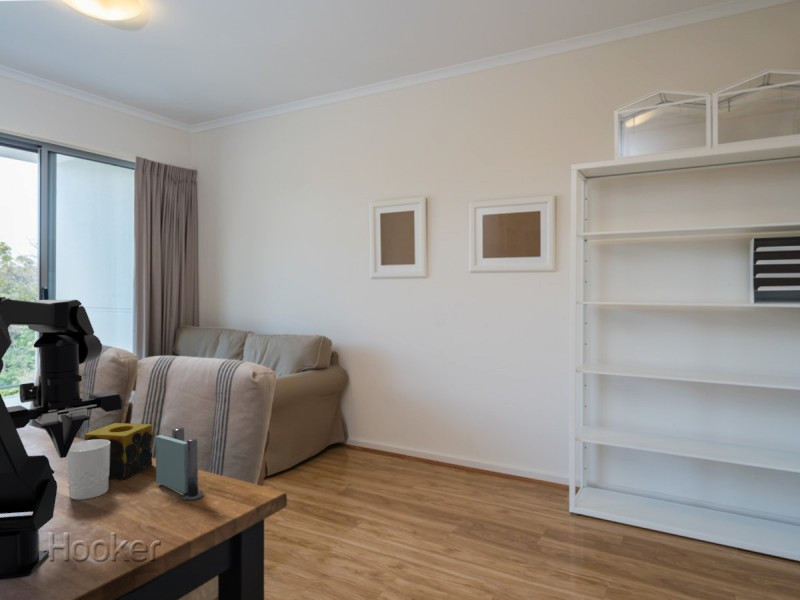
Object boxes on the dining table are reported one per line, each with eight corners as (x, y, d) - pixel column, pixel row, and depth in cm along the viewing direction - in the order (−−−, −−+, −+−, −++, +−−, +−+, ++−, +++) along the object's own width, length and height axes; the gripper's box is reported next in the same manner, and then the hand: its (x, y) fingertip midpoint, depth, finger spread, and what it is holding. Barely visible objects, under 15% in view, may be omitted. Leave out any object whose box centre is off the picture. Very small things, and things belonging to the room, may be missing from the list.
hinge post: (201, 499, 99) (200, 442, 99) (180, 501, 98) (179, 443, 98) (205, 491, 103) (204, 436, 103) (184, 493, 102) (183, 437, 102)
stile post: (185, 483, 108) (184, 430, 107) (169, 484, 107) (168, 431, 107) (188, 478, 111) (187, 426, 110) (172, 479, 110) (172, 427, 110)
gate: (190, 491, 102) (189, 442, 102) (184, 493, 101) (184, 444, 101) (161, 480, 108) (160, 434, 108) (156, 482, 107) (155, 436, 107)
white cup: (90, 502, 98) (89, 452, 98) (56, 499, 100) (55, 450, 100) (120, 487, 106) (119, 440, 106) (88, 484, 108) (87, 438, 107)
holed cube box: (82, 479, 111) (81, 434, 110) (114, 463, 121) (114, 422, 120) (124, 481, 109) (123, 436, 109) (153, 465, 119) (152, 423, 119)
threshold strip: (191, 491, 103) (191, 490, 103) (182, 495, 101) (182, 493, 101) (169, 480, 109) (169, 479, 109) (160, 483, 108) (160, 482, 108)
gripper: (99, 359, 101) (102, 436, 101) (-19, 373, 87) (-16, 462, 87) (123, 365, 94) (125, 447, 94) (-2, 380, 79) (2, 477, 80)
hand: (62, 457), depth 89 cm, fingers closed
